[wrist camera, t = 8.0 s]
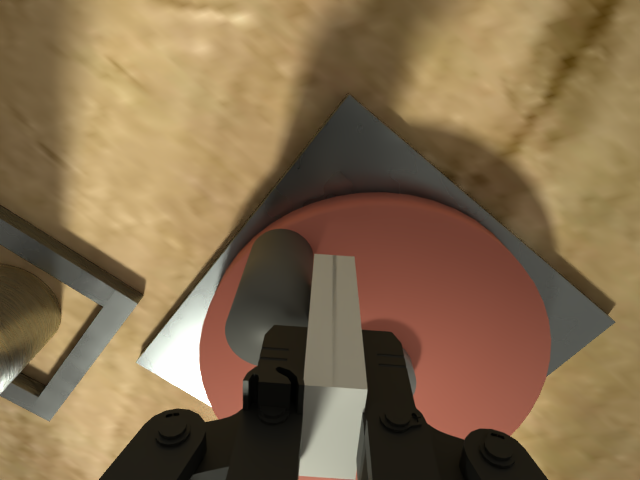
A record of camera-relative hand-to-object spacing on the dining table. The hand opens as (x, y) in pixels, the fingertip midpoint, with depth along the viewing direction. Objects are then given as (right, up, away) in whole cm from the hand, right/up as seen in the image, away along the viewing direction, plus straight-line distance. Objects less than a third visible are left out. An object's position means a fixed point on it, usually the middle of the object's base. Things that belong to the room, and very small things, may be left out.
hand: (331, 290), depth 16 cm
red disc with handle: (+2, -3, +8) cm, 8 cm away
